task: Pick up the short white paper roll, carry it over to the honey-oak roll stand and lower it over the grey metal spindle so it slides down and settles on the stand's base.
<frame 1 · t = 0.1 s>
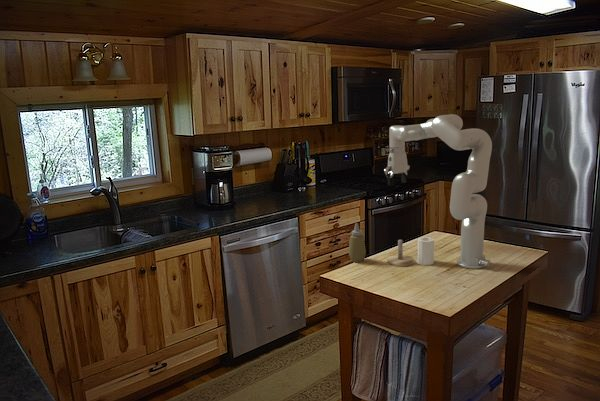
hand: (397, 183, 244), 31 cm above the table, tool pointing down, fingers open, 9 cm apart
squeeze bottle: (357, 260, 226), on the table
roll stand: (400, 262, 222), on the table
paper roll: (425, 262, 219), on the table
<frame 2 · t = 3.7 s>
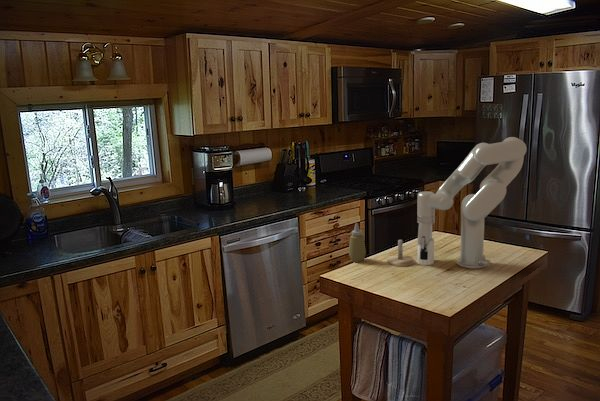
hand: (425, 256, 219), 3 cm above the table, tool pointing down, fingers closed on paper roll, 7 cm apart
paper roll: (425, 262, 219), on the table, touching gripper
everything else where it was.
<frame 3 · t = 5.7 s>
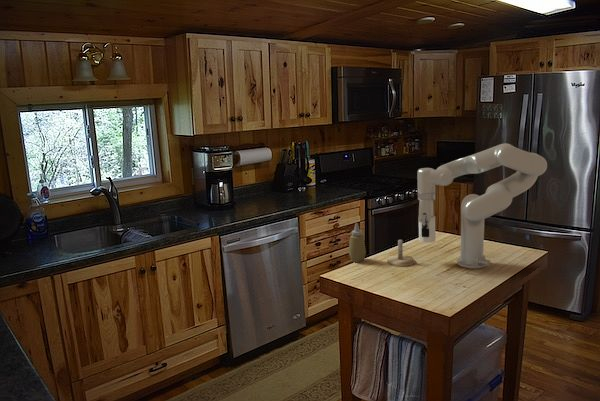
hand: (427, 234, 217), 13 cm above the table, tool pointing down, fingers closed on paper roll, 7 cm apart
paper roll: (427, 240, 217), point 11 cm above the table, touching gripper
everything else where it was.
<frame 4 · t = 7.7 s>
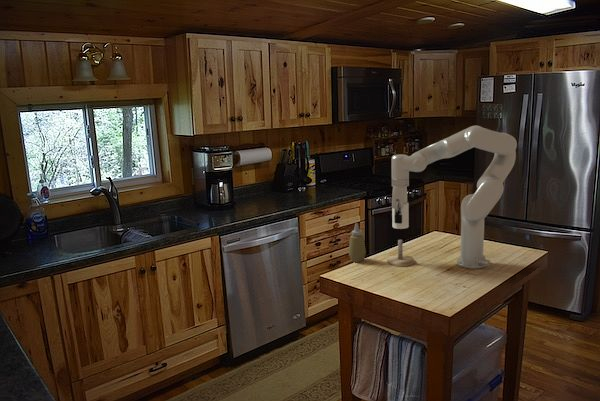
hand: (400, 220, 217), 20 cm above the table, tool pointing down, fingers closed on paper roll, 7 cm apart
paper roll: (400, 226, 218), point 17 cm above the table, touching gripper
everything else where it was.
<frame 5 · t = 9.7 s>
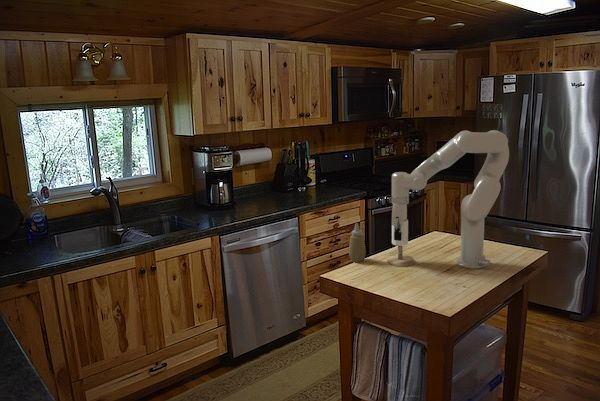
hand: (399, 237, 219), 12 cm above the table, tool pointing down, fingers closed on paper roll, 7 cm apart
paper roll: (399, 243, 220), point 9 cm above the table, touching gripper
everything else where it was.
when the fingers open (7 cm above the table, at t = 11.5 s): paper roll drops 2 cm, resting on roll stand.
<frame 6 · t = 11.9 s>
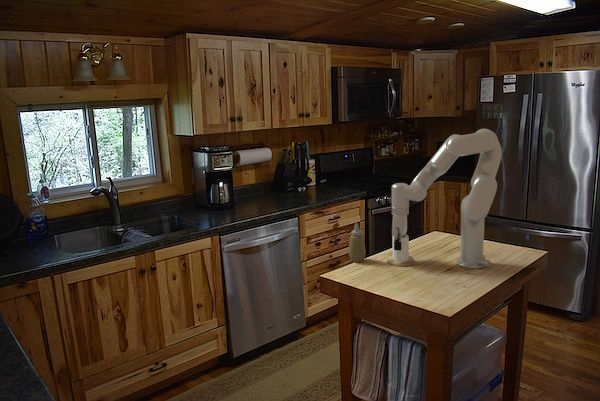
hand: (400, 246, 220), 7 cm above the table, tool pointing down, fingers open, 9 cm apart
paper roll: (400, 259, 221), point 1 cm above the table, touching roll stand
everything else where it was.
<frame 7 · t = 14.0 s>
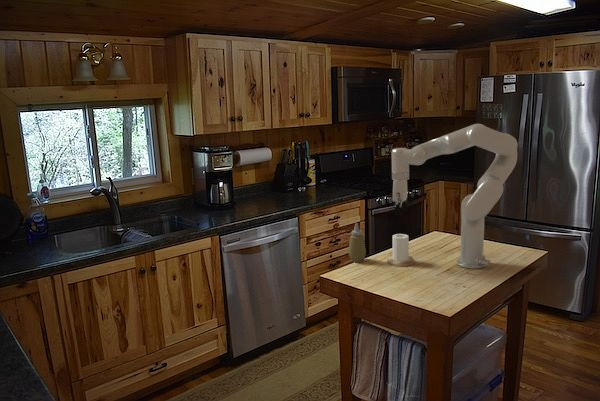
hand: (401, 213, 218), 23 cm above the table, tool pointing down, fingers open, 9 cm apart
nothing on the table moved.
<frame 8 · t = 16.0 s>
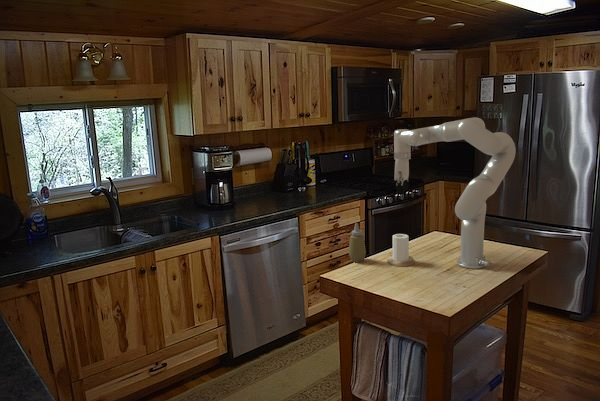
hand: (402, 191, 229), 30 cm above the table, tool pointing down, fingers open, 9 cm apart
nothing on the table moved.
at the end: paper roll 0.1 cm from the roll stand (horizontally); paper roll point 1.5 cm above the table; paper roll tilted 0° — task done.
